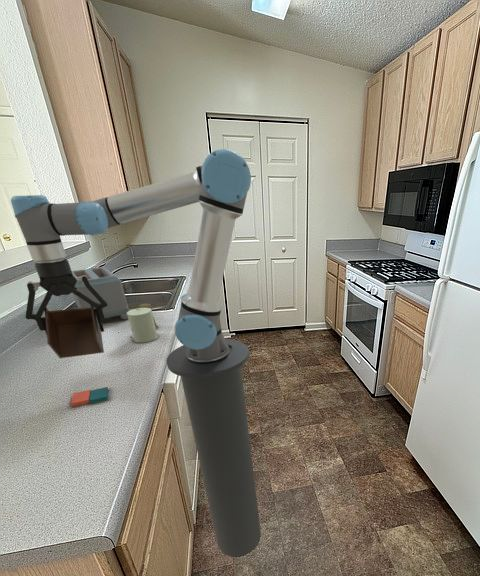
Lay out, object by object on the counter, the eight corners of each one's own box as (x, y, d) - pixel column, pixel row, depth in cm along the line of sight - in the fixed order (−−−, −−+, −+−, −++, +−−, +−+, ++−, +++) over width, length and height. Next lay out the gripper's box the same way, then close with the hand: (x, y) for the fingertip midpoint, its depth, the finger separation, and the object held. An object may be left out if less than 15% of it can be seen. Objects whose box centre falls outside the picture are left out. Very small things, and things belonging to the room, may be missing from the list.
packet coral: (88, 399, 94) (89, 403, 95) (90, 389, 99) (91, 392, 100) (70, 403, 93) (72, 407, 93) (73, 393, 98) (74, 396, 98)
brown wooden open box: (99, 321, 106) (92, 303, 96) (104, 352, 103) (97, 338, 93) (56, 325, 101) (44, 307, 91) (59, 358, 98) (47, 343, 88)
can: (154, 331, 142) (148, 304, 136) (160, 338, 135) (154, 310, 130) (131, 337, 137) (123, 309, 132) (136, 344, 131) (128, 315, 125)
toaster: (116, 302, 181) (105, 264, 171) (132, 319, 157) (120, 275, 148) (77, 310, 171) (63, 270, 161) (87, 328, 147) (72, 283, 138)
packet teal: (106, 396, 96) (107, 399, 96) (107, 386, 100) (108, 390, 101) (89, 400, 94) (90, 404, 95) (90, 390, 99) (92, 393, 99)
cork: (145, 332, 142) (139, 307, 137) (140, 328, 146) (134, 304, 141) (159, 328, 146) (154, 304, 141) (154, 324, 150) (148, 301, 145)
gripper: (101, 253, 96) (122, 322, 106) (-6, 263, 85) (28, 340, 95) (103, 256, 90) (124, 330, 100) (-12, 268, 79) (25, 349, 89)
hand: (77, 335), depth 97 cm, fingers closed on brown wooden open box, 12 cm apart
